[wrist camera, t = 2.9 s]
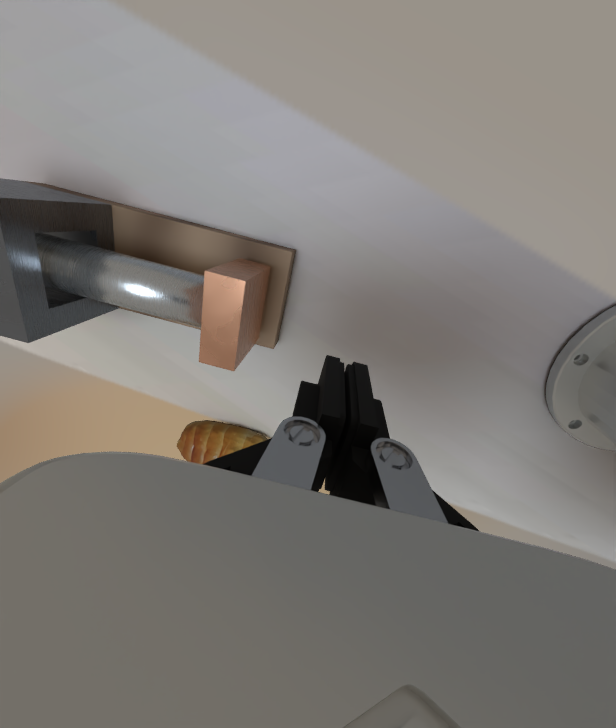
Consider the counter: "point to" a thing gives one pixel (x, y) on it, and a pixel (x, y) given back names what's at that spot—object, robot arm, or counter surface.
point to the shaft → (166, 292)
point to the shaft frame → (119, 234)
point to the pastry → (214, 440)
